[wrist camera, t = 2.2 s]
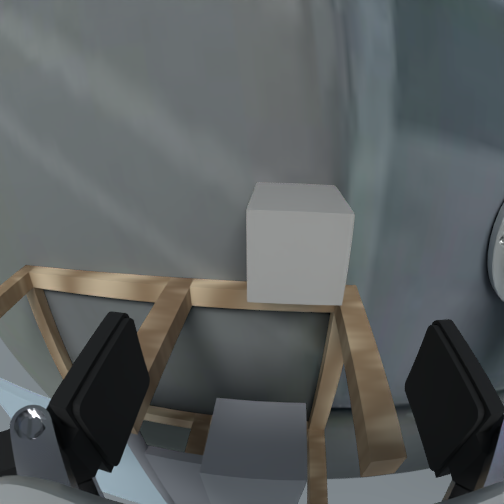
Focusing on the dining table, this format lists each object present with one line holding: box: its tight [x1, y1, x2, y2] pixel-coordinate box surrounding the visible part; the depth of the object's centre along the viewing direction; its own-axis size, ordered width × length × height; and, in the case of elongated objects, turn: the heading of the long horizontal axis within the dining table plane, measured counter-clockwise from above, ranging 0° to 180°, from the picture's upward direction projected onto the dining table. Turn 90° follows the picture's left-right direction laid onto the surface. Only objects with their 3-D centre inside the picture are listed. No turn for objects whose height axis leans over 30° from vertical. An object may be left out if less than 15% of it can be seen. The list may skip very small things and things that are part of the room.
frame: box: [0, 265, 407, 504], centre depth 21 cm, size 30×19×14 cm, turn 90°
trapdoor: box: [0, 378, 307, 504], centre depth 17 cm, size 21×15×5 cm
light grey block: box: [246, 182, 355, 305], centre depth 18 cm, size 5×5×6 cm
